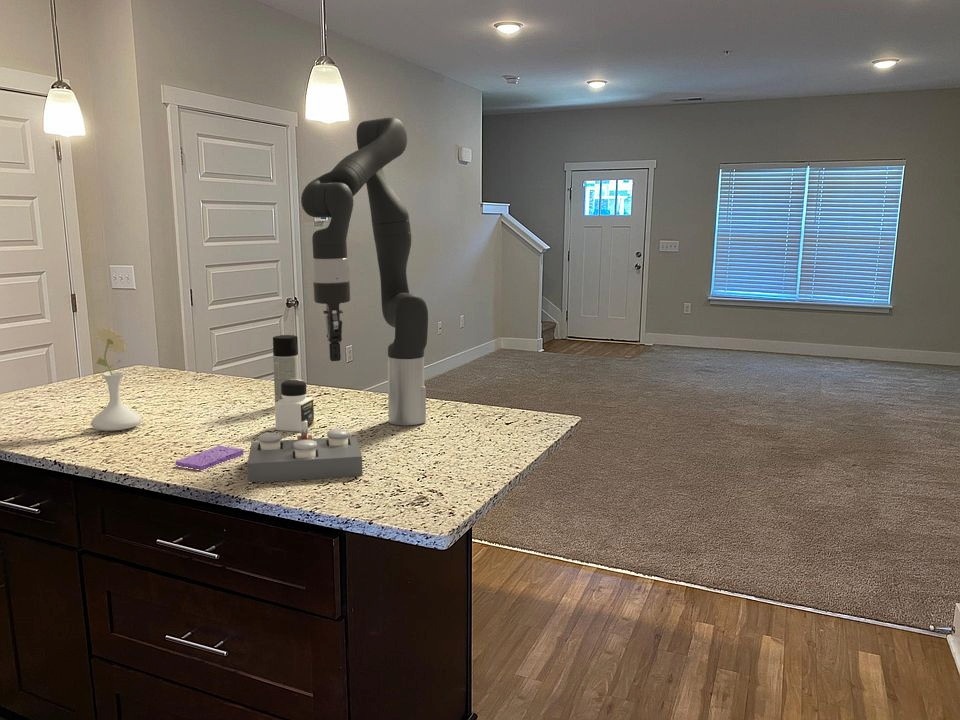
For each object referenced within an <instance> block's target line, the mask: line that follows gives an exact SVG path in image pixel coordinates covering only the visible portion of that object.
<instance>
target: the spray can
mask: <svg viewBox="0 0 960 720" xmlns="http://www.w3.org/2000/svg"><path fill="white" fill-rule="evenodd" d="M298 345H299V343H298V336H297V335H293V334H292V335H291V334H281V335H275V336H273V337H272V347H273V348H272V353H273V354H272V358H273V361H272V362H273V381H274V382H273V384H274V403H275V402H277V401H279V400H281V399H283V398H282V393H281V384H282V382H284V381H286V380H293V379H297V380H300V374H299V373H300V372H299V348H298Z"/></svg>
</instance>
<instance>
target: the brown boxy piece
mask: <svg viewBox="0 0 960 720" xmlns="http://www.w3.org/2000/svg"><path fill="white" fill-rule="evenodd" d="M312 439H313V435H312V434H310V435H309V428H308V421H301V432H300V435H297V437H296V440H297V441H300V440H312Z"/></svg>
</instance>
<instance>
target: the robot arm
mask: <svg viewBox="0 0 960 720" xmlns="http://www.w3.org/2000/svg"><path fill="white" fill-rule="evenodd" d="M406 130H407V129H406V128H405V125H404V123H402V121H401V120H400V119H399V118H397V117H382V118H377V119H370V120H363V121H361V122H359V124H358V125H357V128H356V134H355V135H356V145H357V150H356V151H353V152H352V153H350V154H348V155H346V156H345V157H343V159H341V160H340V161H339V162H337V164H336V165H335V166H334V167H333V168H332V169H331V170H330V171H328V172H326V173H324V174H322V175H320V176H319V177H316V178H315V179H313V180H311V181H310V182H309V183H307V185H306V186H305V187H304V189H303V190H302V193H301V196H300V203H301V207H302V210H303V211H304V212H305V213H306V214H307V215H308V216H310V217H313V218H316V219H317V218H318V219H319V218H320V219H321V218H324V219H326V218H330V220H329V221H330V222H329V224H328V226H327V227H325V228H322V229H318V230H316V231H314V232H313V234H312V238H311V239H312V241H311V242H312V255H313V256H312V257H313V260H312V261H313V262H312V278H313V279H312V280H313V281H312V282H313V284H312V285H313V300H314V303H316V304H323V305H326V306H325V309H326V310H323V311H322V317H323V319H324V330H325V332H326V338H327V343H328V351H329V360H330V361H331V362H339V361H341V359H342V357H341V355H342V354H341V342H342V341H343V338H342V336H343V335H342V333H344V332H343V320H344V312H343V310H342V309H340V304H345V303H349V302H350V301H351V286H350V285H351V284H350V267H349V263H348V262H349V261H348V248H347V247H348V246H347V239H348V238H347V237H348V233H349V227H350V222H351V217H352V213H353V209H354V196H356V194H357V193H358V192H359V191H360V190H361V189H362V187H364V186H365V185H366V189H367V198H368V202H369V203H368V204H369V209H370V216H371V217H370V218H371V227H372V233H373V238H374V244H375V245H374V246H375V249H376V257H377V265H378V269H379V270H378V271H379V278H380V295H381V296H380V298H381V313H382V315H383V319H384V320H385V322H386V324H388V325H389V326H390V327H392V328H394V340H393V342H392V343H390V344H389V345H388V346H387V395H388V397H387V399H388V402H387V403H388V404H387V406H388V407H387V409H388V412H387V414H388V415H387V416H388V423H389V424H391V425H393V426H394V425H395V426H415V425H421V424H426V423H427V421H426V420H427V414H426V413H427V412H426V411H427V407H426V406H427V404H426V403H427V401H426V400H427V390H426V386H425V350H426V347H427V344H428V334H429V333H428V331H429V311H428V305H427V303H426V301H425V299H423V297H421V296H419V295H417V294H414V293H413V294H412V293H410V289H409V284H408V278H407V277H408V276H407V268H408V260H409V256H410V253H411V246H412V229H411V222H410V221H411V220H410V216H409V212H408V210H407V207H406V206H405V204H404V203H403V201H402V200H401V199H400V198H399V196H398V195H397V194H396V193H395V191H394V190H393V189H392V187H391V186H390V184H389V182H388V181H387V178H386V176H385V173H384V169H383V168H384V167H386V166H387V165H389V164H390V163H391V162H392V161H394V160H396V159H397V158H399V157H400V156H402V154H404V153H405V151H406V148H407V146H408V135H407V131H406Z"/></svg>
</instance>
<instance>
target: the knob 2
mask: <svg viewBox="0 0 960 720" xmlns="http://www.w3.org/2000/svg"><path fill="white" fill-rule="evenodd" d="M326 435H327V436H326V438H329V446H342V445H348V437H350V431H349V430H348V429H345V428H341V429H340V428H335V429H331V430H328V431H327V432H326Z"/></svg>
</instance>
